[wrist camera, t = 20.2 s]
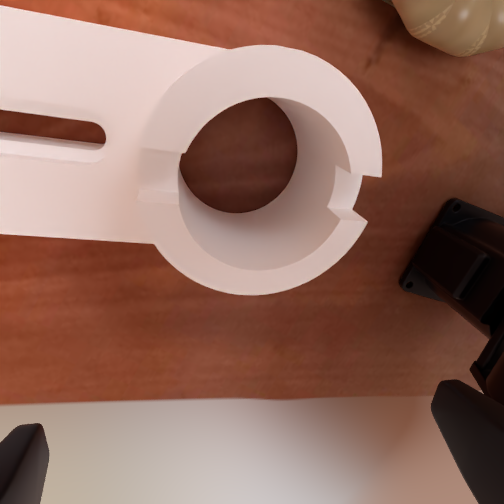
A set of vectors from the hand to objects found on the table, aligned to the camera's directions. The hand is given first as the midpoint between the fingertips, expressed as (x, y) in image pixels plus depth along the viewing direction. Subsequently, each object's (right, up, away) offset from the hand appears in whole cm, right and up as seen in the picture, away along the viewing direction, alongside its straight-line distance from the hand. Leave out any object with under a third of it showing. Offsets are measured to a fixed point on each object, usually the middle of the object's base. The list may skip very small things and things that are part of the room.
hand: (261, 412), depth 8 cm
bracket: (-7, +9, +9) cm, 15 cm away
